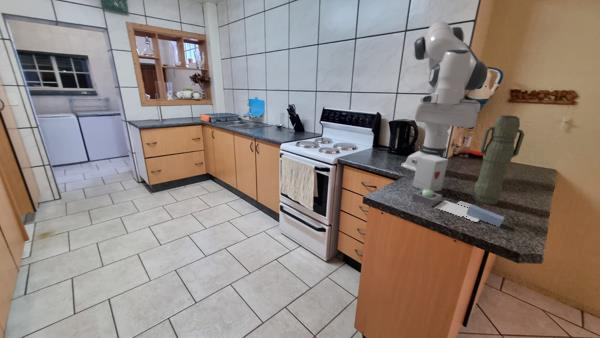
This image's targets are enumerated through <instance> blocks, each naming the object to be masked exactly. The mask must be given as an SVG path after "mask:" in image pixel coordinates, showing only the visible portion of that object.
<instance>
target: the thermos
mask: <svg viewBox="0 0 600 338" xmlns="http://www.w3.org/2000/svg"><path fill="white" fill-rule="evenodd" d="M520 126H521V123H520V117H518V116H517V115H501V116H500V115H499V116H498V117H497V119H496V120H495V122H494V123H493V126H490V127H488V128H487V129H486V130H485V131H484V135H483V138H482V143H481V146H480V151H479V152H480V153H481V154H483V156H482V165H481V168H480V173H479V176H478V180H476V182H475V184H474V188H473V191H472V192H473V193H472V196H471V197H472V198H471V199H472V200H474V201H475V202H477V203H481V204H483V205H489V206H490V205H491V206H495V205H498V202H499V199H500V197H501V194H502V192H503V182H504V179H505V175H506V173H507V170H508V166H509V165H510V163H511V162H512V158H514V157H516V156H517V157H518V155H519V152H520V149H521V146H522V143H523V140H524V137H525V133H524V131H523V130H522V129H520ZM490 131H491V134H490ZM489 134H490V138H489V141H488V143H487V140H488V136H489ZM517 135H518V137H517ZM516 139H517V141H516V143H515V140H516Z"/></svg>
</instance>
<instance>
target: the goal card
mask: <svg viewBox="0 0 600 338" xmlns="http://www.w3.org/2000/svg"><path fill="white" fill-rule="evenodd" d="M456 204H457V205H458V204H459V205H460V206H461V205H462V206H463V207H464V206H465V207H466V208H467V207H468V208H469V206H471V205H474V206H476V205H475V204H471V203H468V202H465V201H462V200H460V201H458V202H457V203H456Z"/></svg>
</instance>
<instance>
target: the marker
mask: <svg viewBox="0 0 600 338" xmlns="http://www.w3.org/2000/svg"><path fill="white" fill-rule="evenodd" d="M474 205H475V204H472V205H471V206H469V208H468V211H467V213H466V214H468V215H470V216H472V217H475V218H477V219H480V220H479V221H481V222H485V223H487V222H488V223H487V224H489V223H490V224H491V225H492V224H493V225H492V226H494V225H496V226H495V227H497V226H499V227H498V228H500V227H501V226H502V225H503V222H504V220H505V216H504V215H503V216H502V215H500V214H498V213H495V212H492V211H490V210H488V209H484V208H482V207H479V206H477V205H475V206H474ZM501 224H502V225H501ZM500 225H501V226H500Z"/></svg>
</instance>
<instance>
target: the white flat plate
mask: <svg viewBox="0 0 600 338" xmlns="http://www.w3.org/2000/svg"><path fill="white" fill-rule="evenodd" d="M436 208H438V209H440V210H439V211H441V210H443V211H442V212H444V211H446V212H449V213H452V214H454V215H453V216H455V215H457V216H460V217H462V216H464V217H465V218H467V219H470V220H471V221H474V222H477V223H478V222H480V221H481V220H480V219H477V218H475V217H472V216H470V215H468V214H466V213H467V211H468V208H467V207H464V206H461V205H458V204H457V203H455V202H451V201H448V200H443V201H442V202H439V203H438V205H437V204H436V205H435V206H434V209H436ZM438 209H437V210H438ZM446 212H445V213H446ZM449 213H448V214H449ZM452 214H451V215H452ZM457 216H456V217H457ZM466 216H467V217H466ZM460 217H459V218H460ZM471 221H470V222H471ZM474 222H473V223H474Z"/></svg>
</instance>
